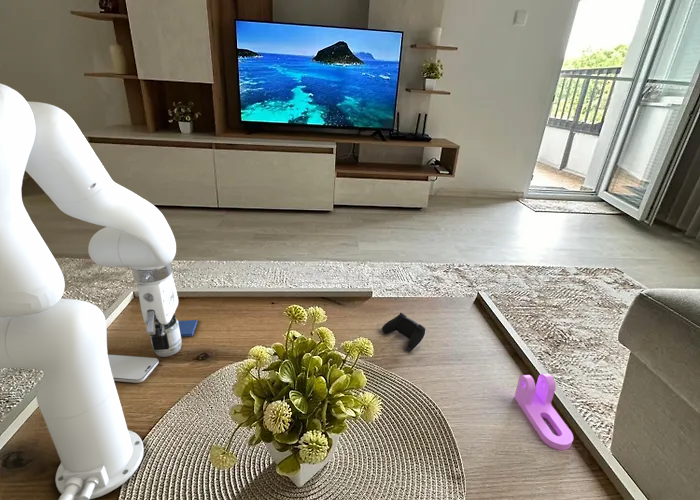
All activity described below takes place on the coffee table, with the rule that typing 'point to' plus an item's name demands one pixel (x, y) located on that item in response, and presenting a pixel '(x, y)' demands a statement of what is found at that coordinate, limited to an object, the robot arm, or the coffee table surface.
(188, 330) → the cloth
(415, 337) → the gaming controller
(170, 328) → the camera lens
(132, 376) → the smartphone
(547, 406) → the bracket
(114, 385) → the robot arm
